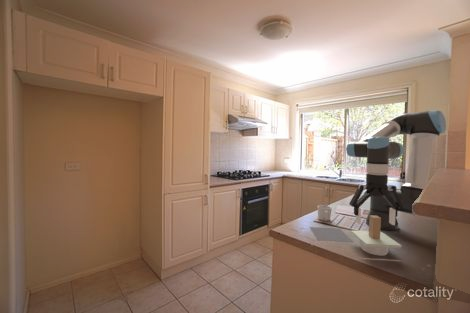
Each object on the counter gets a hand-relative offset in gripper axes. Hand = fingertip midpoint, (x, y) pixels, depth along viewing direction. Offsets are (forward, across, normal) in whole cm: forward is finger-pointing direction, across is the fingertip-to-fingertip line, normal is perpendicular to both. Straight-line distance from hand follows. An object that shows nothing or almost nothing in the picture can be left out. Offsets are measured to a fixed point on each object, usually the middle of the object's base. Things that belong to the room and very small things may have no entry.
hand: (374, 223), depth 89 cm
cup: (+12, +9, -36) cm, 39 cm away
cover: (+7, 0, 0) cm, 7 cm away
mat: (+12, +13, -15) cm, 23 cm away
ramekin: (+13, 0, 0) cm, 13 cm away
